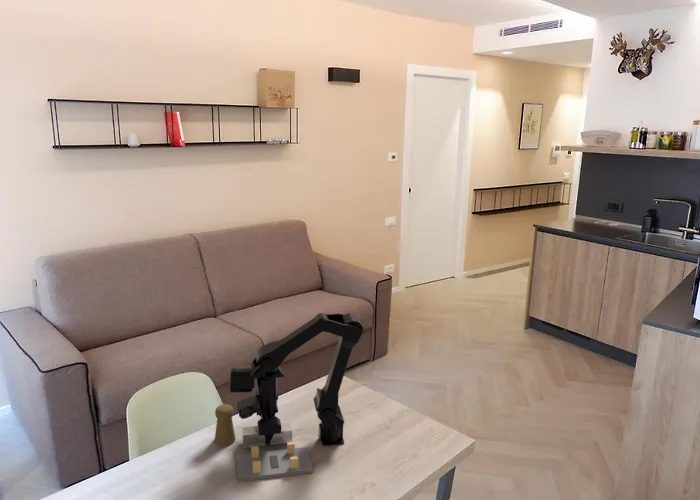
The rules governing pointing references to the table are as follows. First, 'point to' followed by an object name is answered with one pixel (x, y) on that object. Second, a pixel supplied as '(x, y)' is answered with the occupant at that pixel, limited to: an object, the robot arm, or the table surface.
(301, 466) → the plate
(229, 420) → the cork
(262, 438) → the air duct
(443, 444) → the table surface
